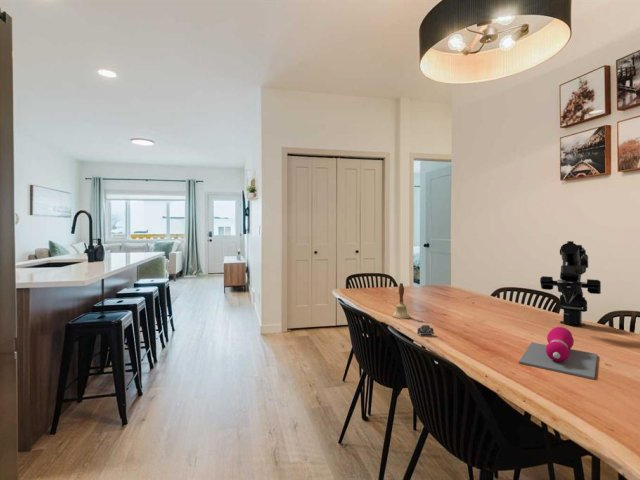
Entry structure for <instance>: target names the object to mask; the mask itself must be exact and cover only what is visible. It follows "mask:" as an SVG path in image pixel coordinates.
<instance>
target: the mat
mask: <svg viewBox="0 0 640 480" xmlns="http://www.w3.org/2000/svg"><path fill="white" fill-rule="evenodd" d="M547 345H548V344H542V343H537V342H533V341H531V343H530V344H529V346H528V348H526V350H525V352H524V353H523V355H522V357H521V358H520V359H519V361H518V364H521V365H526V366H530V367H535V368H538V369H545V370H548V371H551V372H552V371H553V372H558V373H562V374H566V375H567V374H568V375H571V376H577V377H580V378H581V377H582V378H584V379H590V380H595V379H596V378H595V377H596V368H597V359H598V353H595V352H589V351H583V350H577V349H572V348H571V349H569V352H570V355H569V357H568V359H567V360H565V361H563V362H557V361H554V360H552V359H550V358H549V357H548V355H547V353H546V346H547Z"/></svg>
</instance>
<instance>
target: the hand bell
mask: <svg viewBox="0 0 640 480" xmlns="http://www.w3.org/2000/svg"><path fill="white" fill-rule="evenodd" d="M404 294H405V286H404V283H403V282H400V283H399V286H398V295H399V303H398V304H396V307H395V311H394V313H393V314H392V315H393V316H394V317H393V316H392V317H393V318H395V317H396V318H395V319H400V318H406V319H409V317H410V318H411V315H410V314H409V313H408V310H407V305H406V304H404Z"/></svg>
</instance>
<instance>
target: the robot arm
mask: <svg viewBox="0 0 640 480" xmlns="http://www.w3.org/2000/svg"><path fill="white" fill-rule="evenodd" d="M559 255H560V256H561V261H562V264H561V265H560V273H559V279H557V280H554V278H553V276H545V275H544V276H541V277H540V278H539V279H540V280H539V281H540V282H539V283H540V287H541V289H542V290H549V291H551V290H553V289H554V287H556V288H557V292H559V293H561V294H560V295H559V310H563V313H562V315H563V316H562V318H563V320H561V321H559V323H560V324H564V325H568V326H572V327H580V326H581V327H582V326H586V323H583V322H582V321H583V320H582V315H583V314H582V312H583V313H585V312H588V301H587V300H586V297H584V291H583V289H587V292H588V293H589V294H592V295H601V294H602V292H601V291H602V289H601V288H602V287H601V285H602V284H601V280H599V279H592V278H591V279H590V278H587V279H586V281H582V275H583V274H585V273H586V272H587V269H589V255H588V254H587V250H586V249H585V248H584V247H583V245H582V244H576V243H574V240H573V241H571V240H570V241H569V240H568V241H566V243H563V244H562V245H561V246H560V249H559ZM582 288H583V289H582Z"/></svg>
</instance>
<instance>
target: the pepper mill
mask: <svg viewBox="0 0 640 480" xmlns="http://www.w3.org/2000/svg"><path fill="white" fill-rule="evenodd" d="M546 340H547V343H548V344H546V345H547V346H546V353H547V355H548V357H549V358H550V359H552V360H554V361H557V362H563V361H565V360H567V359H568V357H569V355H570V352H569V349H572V348H573V346H574V342H575V339H574V337H573V334H572V332H571V331H570V330H569V329H568V328H566V327H563V326H556V327H553V328H552V329H551V330H550V331H549V332H548V333H547V336H546Z"/></svg>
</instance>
